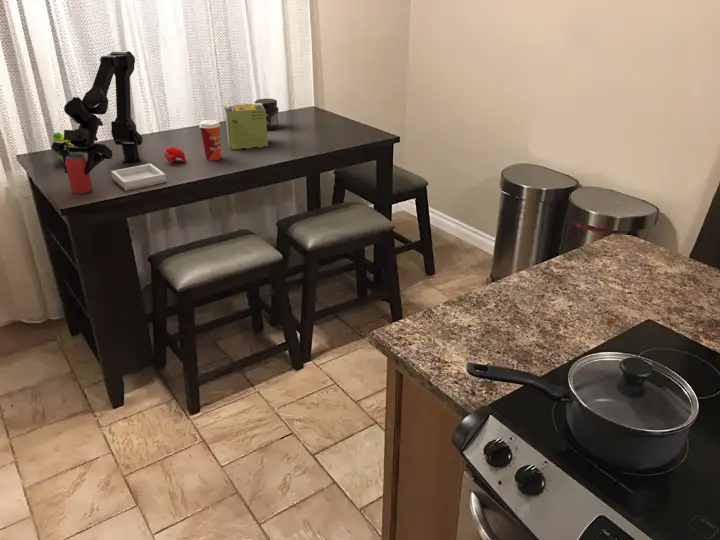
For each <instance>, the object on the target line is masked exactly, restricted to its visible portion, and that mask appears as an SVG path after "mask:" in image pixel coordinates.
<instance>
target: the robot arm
mask: <svg viewBox="0 0 720 540" xmlns="http://www.w3.org/2000/svg"><path fill="white" fill-rule="evenodd" d="M99 62H100V63H99V67H98V69H97V72H96V76H95V78H94V81H93V84H92V86H91V89H89V90H88V91H87V92H85V93H84V95H83V98H82V99H81V97H79V96H78V97H77V96H72V99H71V100H69V101H67V102H66V103H65V105H64V106H63V111H64V113H65V114H66V115H67V116H69V118H70V119H72V120H73V122H75V123H76V124H78V128H75V129H63V135H64V140H69V141H70V144H73V145H74V146H69V145H68V144H67V143H65V142H57V141H53V142H52V144H51V147H50V149H52V151H54V152H56V154H59V155H60V156H62V157H63V161H64V163H63V168H64V172H65V174H67V175H68V173H67V169H66V165H65V161H66V158H65V157H66V156H68V155H72V154H73V152H77V153H82V154H87V159H86V161H87V163H86V167H85V171H84V174H85V175H87V174H88V173H90V172H91V171H92V170H94V168H95V167H96V166H98V165H99V164H100V163H101V162H103V161H105V160H112V159H113V151H112V150H111V149H110V147H108V146H107V145H106V143H96V142H98V139H99V138H98V136H97V134H98V129H99V127H102V126H104V122H103V121H102V119H101V117H98V116H99V115H101V116H102V115H105V114H106V113H107V111H108V110H109V109H108V107H109V99H108V91H109V89H110V87H111V83H112V80H113V76H114V77H115V81H114V82H115V105H116V117H115V119H114V121H111V123H110V124H111V125H110V127H111V130H110V131H111V132H110V133H111V138H112V139H113V141H114V143H115V145H116V146H118V145H119V146H121V150H122V155H123V156H122V163H134V162H135V163H136V162H141V161H142V155H141V154H140V151H139V146H141V145H142V143H143V136H142V135H141V134H140V133H139V131H137V125H136V123H135V122H134V120H133V118H132V107H131V104H132V102H131V80H130V79H131V76H132V75H133V72H134V71H135V64H136V57H135V56H134V54H132V52H131V51H129V50H112V51H111V52H110V53H108V54H104V55H102V56H100V58H99ZM97 115H98V116H97ZM59 155H58V156H59ZM60 156H59V157H60ZM63 161H62V162H63Z"/></svg>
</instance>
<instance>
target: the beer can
mask: <svg viewBox="0 0 720 540" xmlns="http://www.w3.org/2000/svg"><path fill="white" fill-rule="evenodd" d="M65 158H66V161H65V165H66V169H67V173H68V174H67V173H66V174H67V177H68V180H69V186H70V189H71V192H72V193H73V194H75V193H76V195H83V194H88V193H90V192H92V191H93V189H94V188H93V183H92V178H91V174H90V172H89V173H88V174H87V175H85V174H84V171H85V167H86V163H87V159H86V158H85V156H84V153H82V154H72V155H68V156H66V157H65Z"/></svg>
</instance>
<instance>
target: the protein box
mask: <svg viewBox="0 0 720 540" xmlns="http://www.w3.org/2000/svg"><path fill="white" fill-rule="evenodd" d="M223 107H224V115H225V116H224V117H225V124H226V125H225V126H226V135H227V136H226V137H227V143H228V148H229V149H230V151H231V150H233V149H234V150H242V149H241V148H246V149H253V148H252V147H258V148H264V147H263V146H268V147H269V140H268V131H267V125H266V111H265V108H264V106H263V105H262V103H255V102H254V103H243V104H230V105H229V104H228V105H224V106H223Z"/></svg>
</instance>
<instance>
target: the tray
mask: <svg viewBox="0 0 720 540" xmlns="http://www.w3.org/2000/svg"><path fill="white" fill-rule="evenodd" d="M110 172H111V177H112V180H113V181H114V182H115V183H116V184H117V185H119V186H120V187H121V188H122V189H123V190H124V191H126V192H127V191H132V190H136V189H141V187H142V188H145V186H146V187H152V186H155V184H156V185H159V184H164V183H167V178H166V173H164V172H163V171H161V170H160V169H159V168H157V167H156V166H155V165H154V164H152V163H151V162H150V163H144V164H141V165H135V166H130V167H125V168H121V169H115V170H111V171H110ZM131 189H132V190H131Z"/></svg>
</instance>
